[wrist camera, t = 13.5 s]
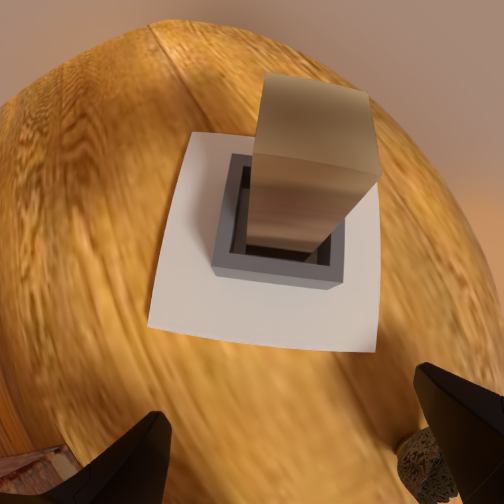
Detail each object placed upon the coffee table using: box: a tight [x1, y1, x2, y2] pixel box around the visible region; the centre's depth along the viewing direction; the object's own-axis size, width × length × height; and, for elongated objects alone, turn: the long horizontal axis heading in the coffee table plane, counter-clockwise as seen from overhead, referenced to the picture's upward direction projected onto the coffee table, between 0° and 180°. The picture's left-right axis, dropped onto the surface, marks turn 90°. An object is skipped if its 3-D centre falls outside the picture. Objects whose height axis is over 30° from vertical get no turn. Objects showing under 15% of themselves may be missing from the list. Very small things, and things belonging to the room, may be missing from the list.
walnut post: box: [245, 72, 382, 262], centre depth 16 cm, size 5×5×13 cm
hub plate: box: [147, 132, 380, 352], centre depth 21 cm, size 18×18×4 cm
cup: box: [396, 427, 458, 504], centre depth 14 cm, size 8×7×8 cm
